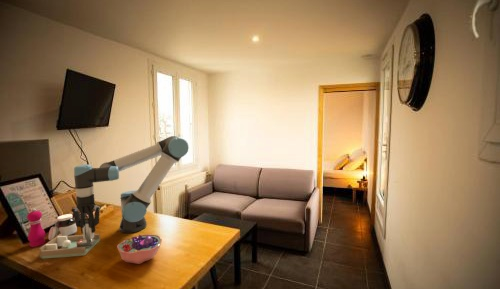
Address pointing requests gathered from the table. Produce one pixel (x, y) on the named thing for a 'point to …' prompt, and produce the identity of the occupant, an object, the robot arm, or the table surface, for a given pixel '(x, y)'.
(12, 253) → the table surface
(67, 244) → the ball
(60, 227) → the spread jar
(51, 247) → the beige tray
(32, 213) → the pepper mill
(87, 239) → the kicker rod
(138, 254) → the cell model
